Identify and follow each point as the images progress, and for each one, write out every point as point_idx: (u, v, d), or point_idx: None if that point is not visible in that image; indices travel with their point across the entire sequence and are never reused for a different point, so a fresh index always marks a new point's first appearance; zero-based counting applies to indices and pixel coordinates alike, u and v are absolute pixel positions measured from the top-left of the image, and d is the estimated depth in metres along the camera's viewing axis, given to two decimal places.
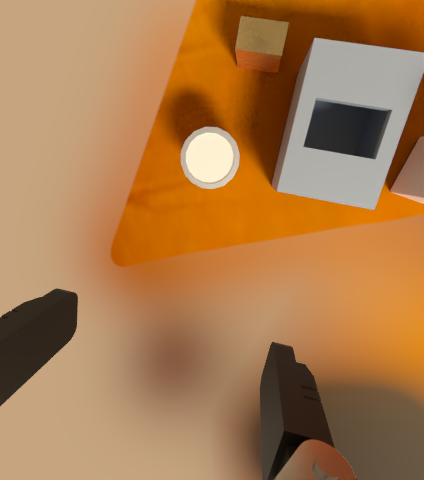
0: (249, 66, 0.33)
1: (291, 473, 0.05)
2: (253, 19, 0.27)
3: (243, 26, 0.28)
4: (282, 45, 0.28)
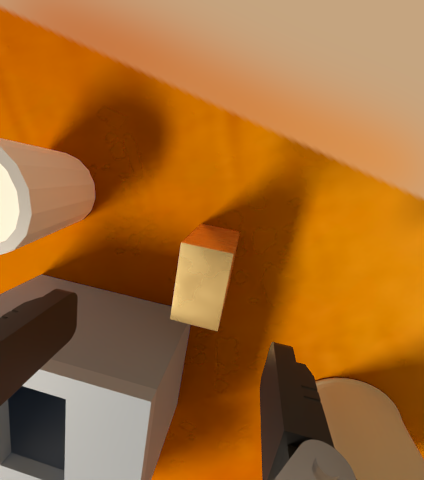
0: None
1: (291, 473, 0.05)
2: (225, 275, 0.15)
3: (216, 258, 0.15)
4: (184, 320, 0.16)
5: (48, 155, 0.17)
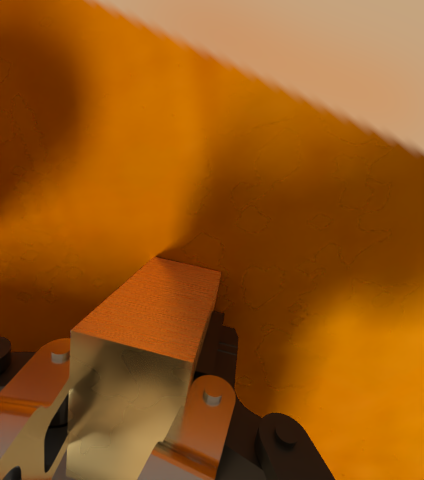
0: None
1: (187, 408, 0.06)
2: (177, 407, 0.06)
3: (153, 369, 0.06)
4: None
5: None
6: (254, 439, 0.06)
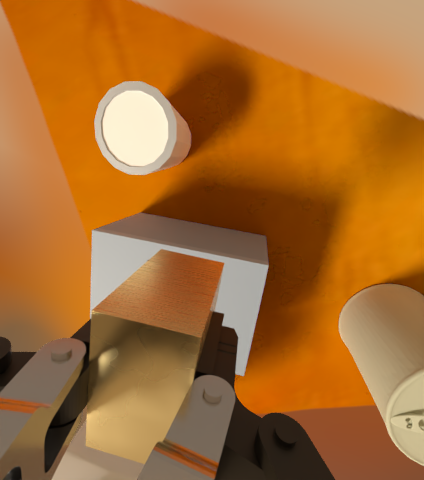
0: None
1: (187, 408, 0.06)
2: (187, 378, 0.07)
3: (165, 344, 0.07)
4: (112, 451, 0.08)
5: None
6: (254, 439, 0.06)
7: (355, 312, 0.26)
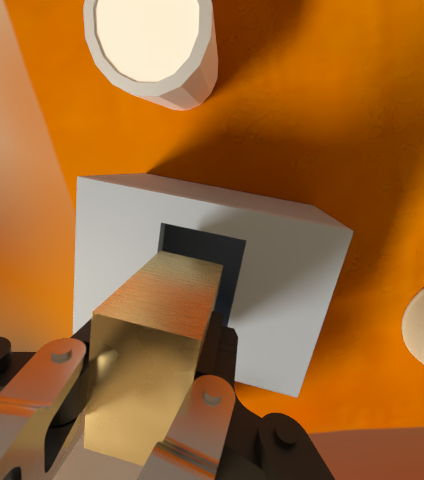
0: None
1: (187, 408, 0.06)
2: (186, 381, 0.07)
3: (165, 347, 0.07)
4: (110, 453, 0.08)
5: None
6: (254, 439, 0.06)
7: None
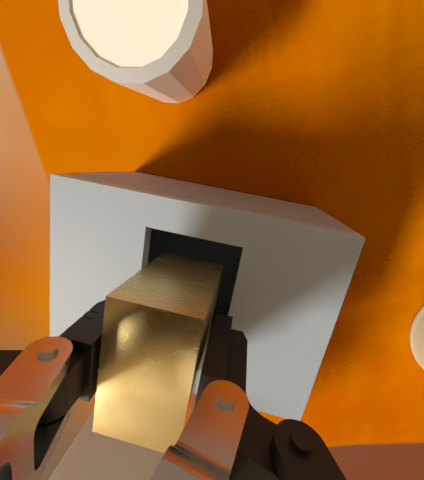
0: None
1: (199, 413, 0.06)
2: (190, 359, 0.08)
3: (171, 327, 0.08)
4: (118, 436, 0.09)
5: None
6: (269, 446, 0.06)
7: None
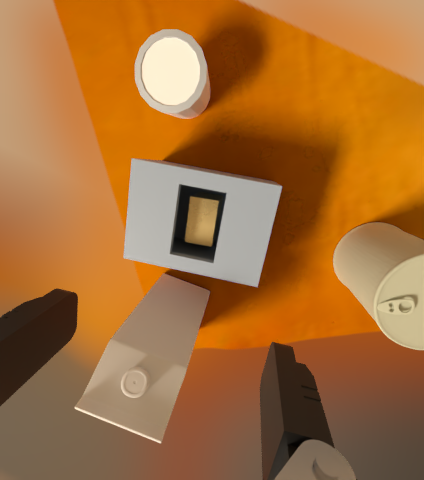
0: None
1: (291, 473, 0.05)
2: (215, 213, 0.28)
3: (209, 204, 0.28)
4: (193, 242, 0.29)
5: None
6: None
7: (348, 244, 0.31)
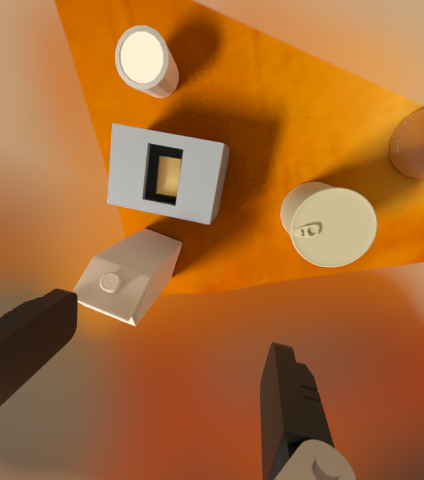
0: None
1: (291, 473, 0.05)
2: (178, 169, 0.35)
3: (174, 161, 0.35)
4: (162, 193, 0.37)
5: None
6: None
7: (288, 198, 0.38)
